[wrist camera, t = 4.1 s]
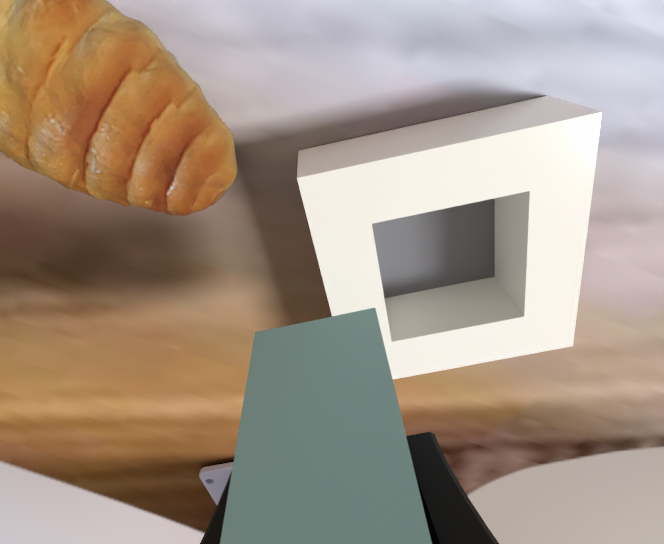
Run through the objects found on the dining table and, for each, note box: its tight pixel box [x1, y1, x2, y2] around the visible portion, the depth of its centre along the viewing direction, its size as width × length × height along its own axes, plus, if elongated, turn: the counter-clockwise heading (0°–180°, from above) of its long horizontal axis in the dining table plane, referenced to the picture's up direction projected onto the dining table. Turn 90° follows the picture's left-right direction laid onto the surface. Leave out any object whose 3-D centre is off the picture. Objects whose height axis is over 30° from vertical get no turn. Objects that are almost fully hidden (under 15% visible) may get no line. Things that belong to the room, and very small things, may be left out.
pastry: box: [0, 0, 237, 215], centre depth 14 cm, size 9×7×4 cm
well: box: [297, 96, 602, 379], centre depth 18 cm, size 10×10×4 cm
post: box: [220, 308, 432, 544], centre depth 10 cm, size 4×4×8 cm
